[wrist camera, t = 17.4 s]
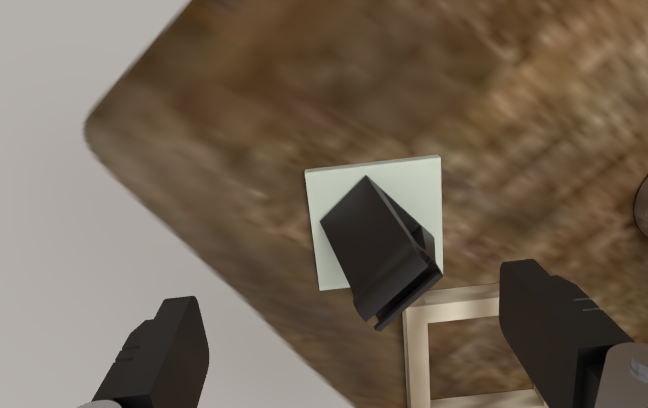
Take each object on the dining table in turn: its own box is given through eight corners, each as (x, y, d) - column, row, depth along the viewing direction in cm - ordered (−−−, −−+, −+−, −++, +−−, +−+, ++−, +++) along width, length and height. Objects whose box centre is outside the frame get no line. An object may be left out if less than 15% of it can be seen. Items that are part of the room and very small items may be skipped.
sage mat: (437, 154, 42) (440, 157, 41) (440, 271, 47) (443, 277, 46) (304, 169, 42) (304, 172, 41) (319, 285, 47) (319, 290, 46)
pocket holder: (560, 276, 47) (573, 289, 45) (550, 400, 53) (561, 418, 51) (401, 293, 47) (405, 307, 45) (408, 416, 53) (412, 434, 51)
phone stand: (433, 236, 44) (476, 308, 33) (387, 278, 45) (413, 361, 34) (365, 173, 42) (387, 228, 30) (319, 219, 43) (323, 288, 32)
